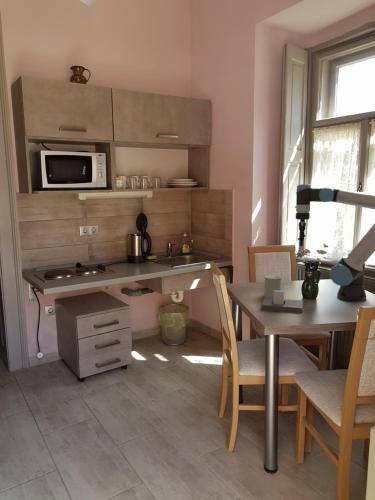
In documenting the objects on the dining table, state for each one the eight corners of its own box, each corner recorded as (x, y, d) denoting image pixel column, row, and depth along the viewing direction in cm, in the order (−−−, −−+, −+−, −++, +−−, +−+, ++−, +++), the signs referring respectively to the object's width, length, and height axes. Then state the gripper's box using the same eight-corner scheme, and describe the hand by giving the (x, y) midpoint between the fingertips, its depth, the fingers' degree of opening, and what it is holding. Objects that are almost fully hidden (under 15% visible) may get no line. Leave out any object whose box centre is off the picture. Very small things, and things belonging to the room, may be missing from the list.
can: (280, 299, 222) (281, 278, 220) (263, 298, 224) (264, 277, 222) (280, 294, 231) (280, 274, 229) (264, 294, 233) (264, 274, 231)
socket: (302, 305, 210) (302, 300, 210) (302, 313, 197) (302, 308, 197) (264, 302, 216) (264, 297, 216) (261, 309, 203) (261, 305, 203)
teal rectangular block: (283, 305, 208) (283, 290, 207) (282, 307, 205) (283, 292, 203) (273, 304, 210) (274, 289, 209) (273, 306, 206) (273, 291, 205)
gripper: (296, 210, 234) (295, 246, 238) (295, 213, 211) (293, 253, 214) (309, 211, 232) (308, 246, 236) (309, 213, 209) (308, 253, 212)
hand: (301, 249), depth 225 cm, fingers open, 13 cm apart
